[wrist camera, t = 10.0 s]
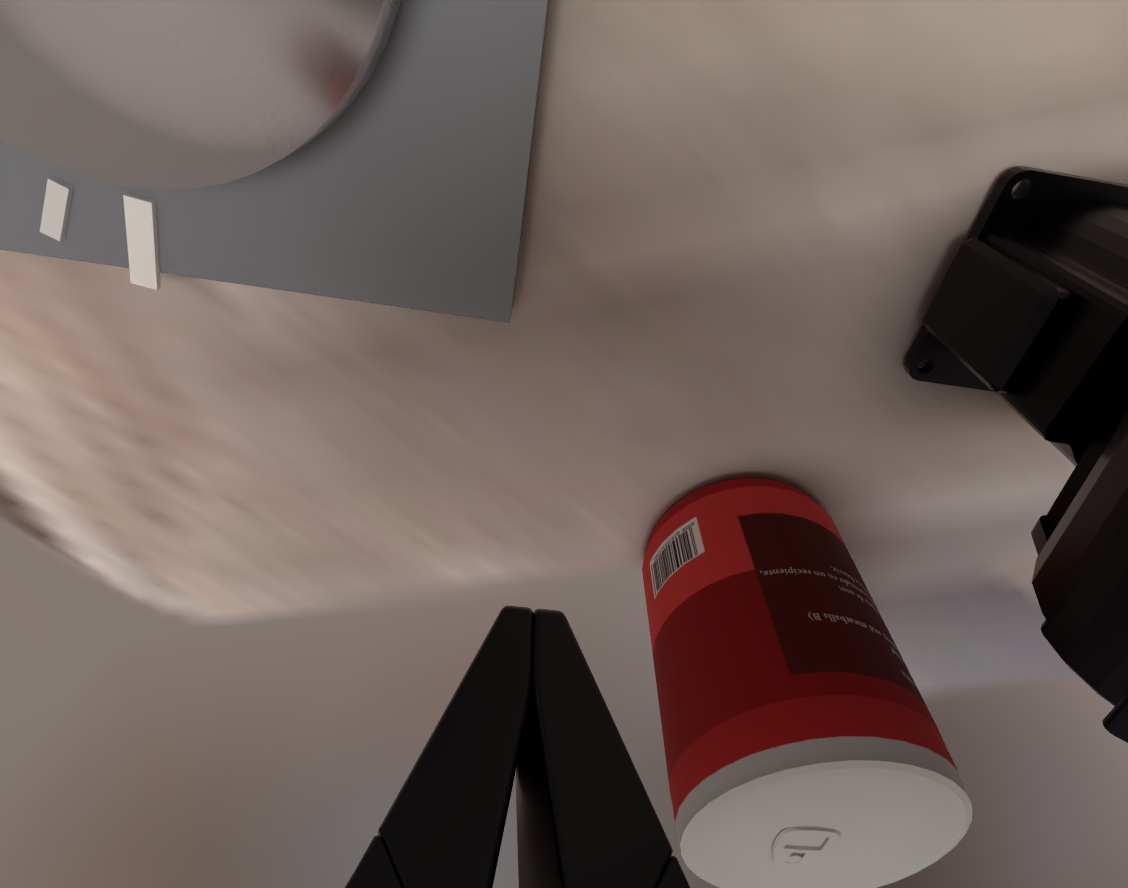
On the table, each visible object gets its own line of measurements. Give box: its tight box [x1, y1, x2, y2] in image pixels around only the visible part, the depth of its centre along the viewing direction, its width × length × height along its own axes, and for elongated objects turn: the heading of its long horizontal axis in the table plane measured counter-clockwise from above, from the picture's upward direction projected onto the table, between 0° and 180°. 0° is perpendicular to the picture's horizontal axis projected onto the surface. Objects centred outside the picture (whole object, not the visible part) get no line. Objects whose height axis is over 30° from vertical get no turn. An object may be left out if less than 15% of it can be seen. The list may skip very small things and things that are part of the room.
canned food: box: [642, 478, 972, 888], centre depth 22 cm, size 8×8×11 cm
